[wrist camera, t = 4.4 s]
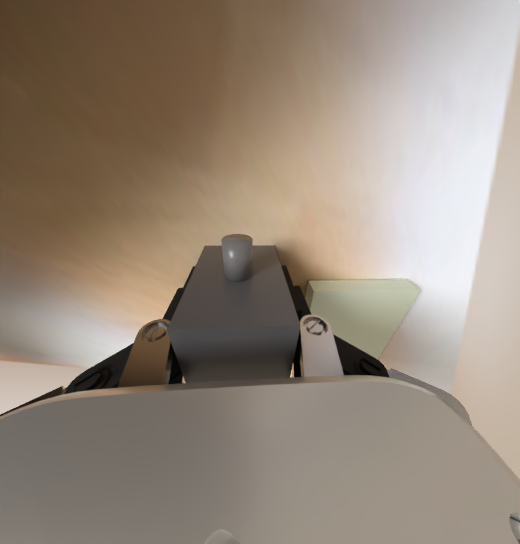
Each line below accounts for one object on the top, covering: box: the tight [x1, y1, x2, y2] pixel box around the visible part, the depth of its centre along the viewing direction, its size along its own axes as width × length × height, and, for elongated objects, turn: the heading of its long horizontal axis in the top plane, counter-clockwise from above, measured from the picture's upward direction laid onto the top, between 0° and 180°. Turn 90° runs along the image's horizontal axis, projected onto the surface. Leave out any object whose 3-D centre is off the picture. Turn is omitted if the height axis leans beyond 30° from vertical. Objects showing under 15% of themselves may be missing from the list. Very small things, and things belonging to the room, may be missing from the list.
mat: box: [305, 279, 421, 360], centre depth 14 cm, size 8×7×1 cm
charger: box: [167, 234, 301, 383], centre depth 9 cm, size 7×4×6 cm, turn 178°
